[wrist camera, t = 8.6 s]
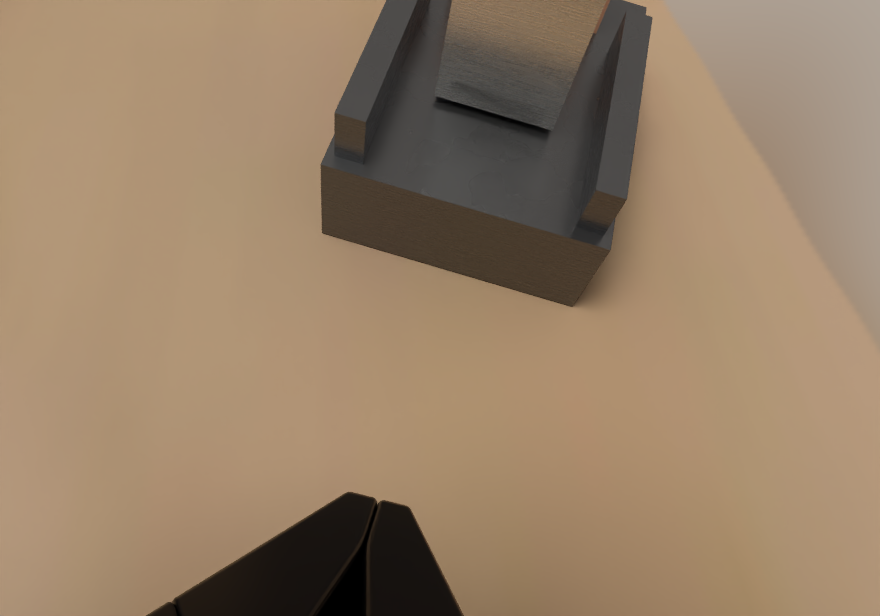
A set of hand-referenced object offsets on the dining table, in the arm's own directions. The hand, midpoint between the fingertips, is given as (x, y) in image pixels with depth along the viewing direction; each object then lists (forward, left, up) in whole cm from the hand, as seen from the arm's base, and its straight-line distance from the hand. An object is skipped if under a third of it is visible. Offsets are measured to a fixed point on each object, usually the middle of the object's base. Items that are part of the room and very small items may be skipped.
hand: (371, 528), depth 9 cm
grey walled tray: (+6, +18, -13) cm, 23 cm away
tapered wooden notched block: (+7, +20, -8) cm, 23 cm away
